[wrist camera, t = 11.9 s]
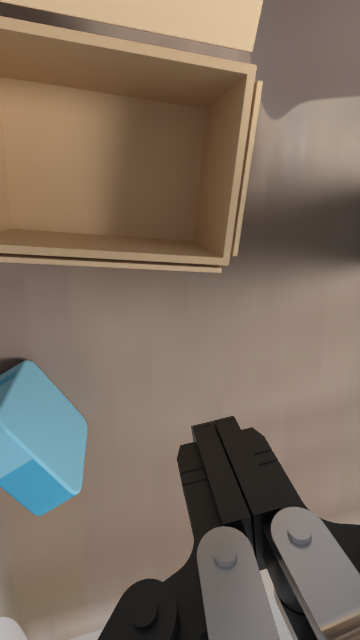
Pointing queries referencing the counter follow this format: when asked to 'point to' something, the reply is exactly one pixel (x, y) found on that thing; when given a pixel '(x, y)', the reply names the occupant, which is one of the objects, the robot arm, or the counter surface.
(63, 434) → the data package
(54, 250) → the carton
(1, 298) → the counter surface
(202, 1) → the flap
